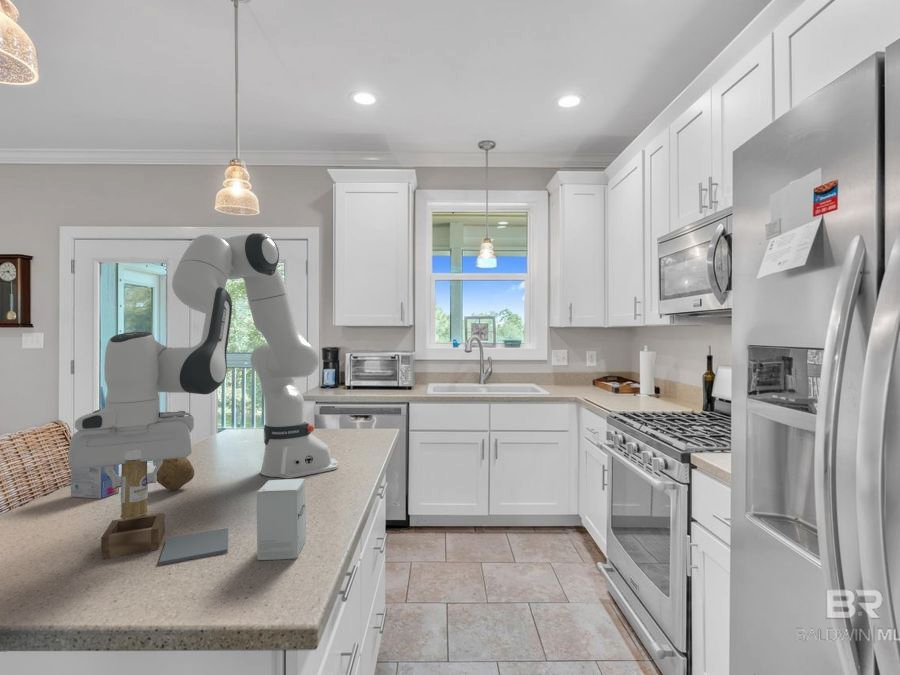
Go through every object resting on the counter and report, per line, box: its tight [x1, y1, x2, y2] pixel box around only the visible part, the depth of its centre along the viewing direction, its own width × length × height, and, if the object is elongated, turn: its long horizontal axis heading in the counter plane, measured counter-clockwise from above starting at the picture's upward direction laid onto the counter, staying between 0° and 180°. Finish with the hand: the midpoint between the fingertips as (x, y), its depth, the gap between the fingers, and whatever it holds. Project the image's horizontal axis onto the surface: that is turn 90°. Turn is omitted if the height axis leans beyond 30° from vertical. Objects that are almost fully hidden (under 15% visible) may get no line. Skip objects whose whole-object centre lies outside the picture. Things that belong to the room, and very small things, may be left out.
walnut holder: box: [100, 512, 166, 560], centre depth 92 cm, size 9×9×4 cm
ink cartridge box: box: [70, 464, 120, 499], centre depth 122 cm, size 10×6×14 cm, turn 78°
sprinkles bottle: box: [120, 450, 149, 520], centre depth 92 cm, size 5×5×14 cm
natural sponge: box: [154, 457, 195, 492], centre depth 125 cm, size 9×9×10 cm
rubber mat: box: [158, 527, 229, 566], centre depth 91 cm, size 11×11×1 cm
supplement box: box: [256, 478, 307, 561], centre depth 89 cm, size 7×7×13 cm
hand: (135, 484), depth 92 cm, fingers closed on sprinkles bottle, 4 cm apart
